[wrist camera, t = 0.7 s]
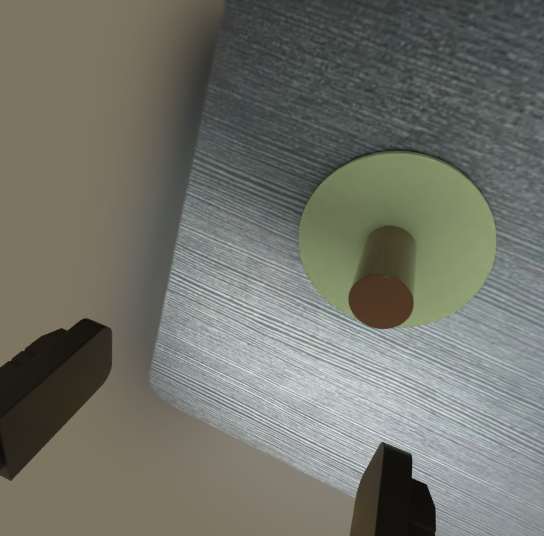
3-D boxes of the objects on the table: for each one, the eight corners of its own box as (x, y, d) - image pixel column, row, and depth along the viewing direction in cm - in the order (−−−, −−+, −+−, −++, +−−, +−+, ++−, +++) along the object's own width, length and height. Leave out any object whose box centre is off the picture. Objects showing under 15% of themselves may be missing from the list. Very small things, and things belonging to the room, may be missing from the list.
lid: (268, 223, 28) (224, 275, 22) (414, 103, 22) (408, 128, 16) (374, 342, 29) (360, 420, 23) (536, 261, 23) (573, 337, 17)
